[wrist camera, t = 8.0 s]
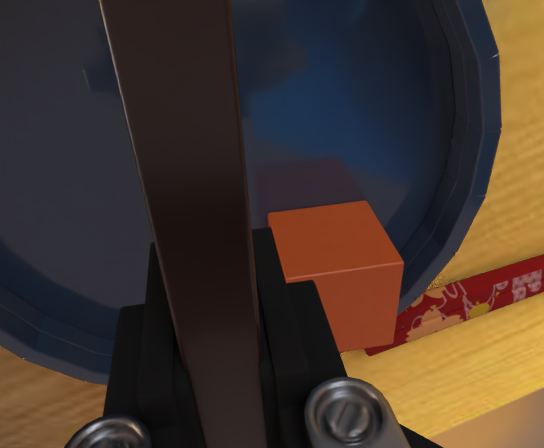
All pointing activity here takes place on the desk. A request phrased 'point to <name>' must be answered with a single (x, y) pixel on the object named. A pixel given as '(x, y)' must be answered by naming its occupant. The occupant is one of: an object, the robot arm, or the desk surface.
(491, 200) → the desk surface
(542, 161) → the desk surface
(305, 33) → the dark blue round tray
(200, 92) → the dark brown long bar
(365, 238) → the block
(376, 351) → the chopstick
